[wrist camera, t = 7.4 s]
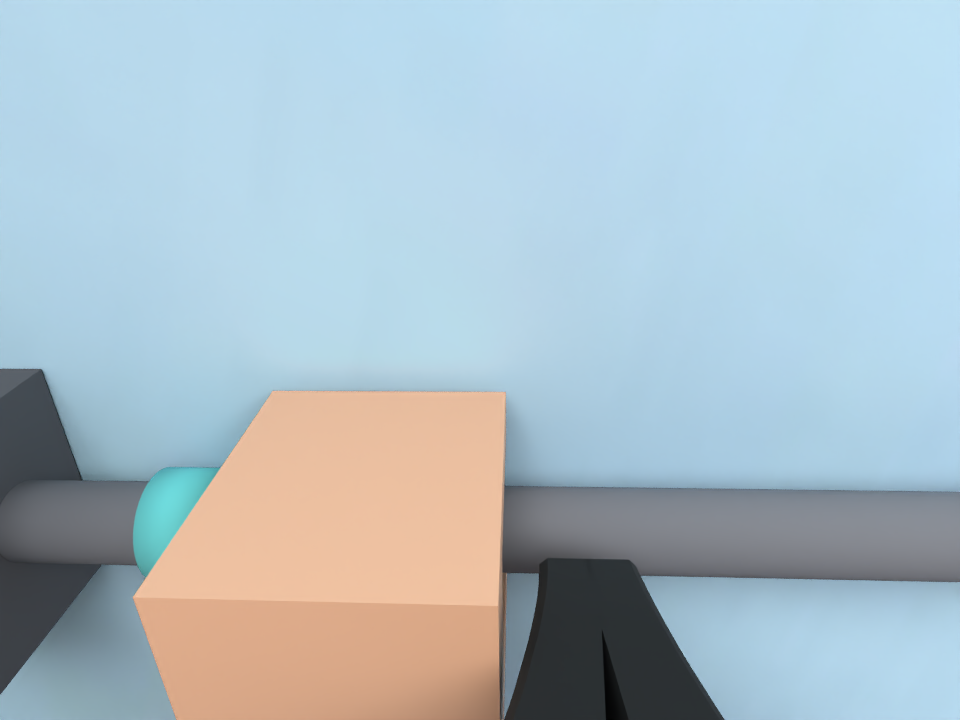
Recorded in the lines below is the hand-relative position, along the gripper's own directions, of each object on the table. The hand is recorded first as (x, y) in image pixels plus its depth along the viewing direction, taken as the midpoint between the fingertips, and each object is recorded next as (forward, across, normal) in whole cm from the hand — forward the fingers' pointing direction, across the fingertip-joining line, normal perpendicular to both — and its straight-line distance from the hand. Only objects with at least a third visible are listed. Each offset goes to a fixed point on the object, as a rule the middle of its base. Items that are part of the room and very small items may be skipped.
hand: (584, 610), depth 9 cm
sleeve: (+3, +3, 0) cm, 5 cm away
